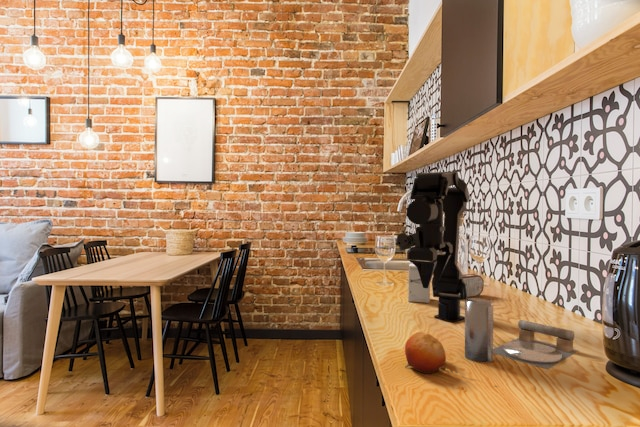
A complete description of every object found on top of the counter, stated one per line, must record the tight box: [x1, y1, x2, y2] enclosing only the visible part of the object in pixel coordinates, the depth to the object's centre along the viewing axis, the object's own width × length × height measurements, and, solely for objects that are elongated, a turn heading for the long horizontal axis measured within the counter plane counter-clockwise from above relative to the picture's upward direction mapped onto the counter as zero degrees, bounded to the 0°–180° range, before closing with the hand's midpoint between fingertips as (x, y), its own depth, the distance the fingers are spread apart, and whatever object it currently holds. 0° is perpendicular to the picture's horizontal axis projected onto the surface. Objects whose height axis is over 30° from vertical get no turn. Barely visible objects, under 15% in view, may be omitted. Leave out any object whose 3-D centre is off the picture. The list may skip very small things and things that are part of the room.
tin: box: [459, 273, 485, 299], centre depth 142 cm, size 15×3×8 cm, turn 118°
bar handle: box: [517, 319, 575, 353], centre depth 88 cm, size 11×2×4 cm, turn 38°
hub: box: [464, 297, 494, 363], centre depth 80 cm, size 7×7×13 cm
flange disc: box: [502, 340, 563, 364], centre depth 82 cm, size 11×11×1 cm
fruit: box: [404, 331, 447, 375], centre depth 78 cm, size 8×8×8 cm
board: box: [493, 337, 579, 370], centre depth 84 cm, size 16×12×1 cm
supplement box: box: [407, 262, 431, 304], centre depth 137 cm, size 7×7×13 cm
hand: (431, 284), depth 97 cm, fingers open, 9 cm apart
